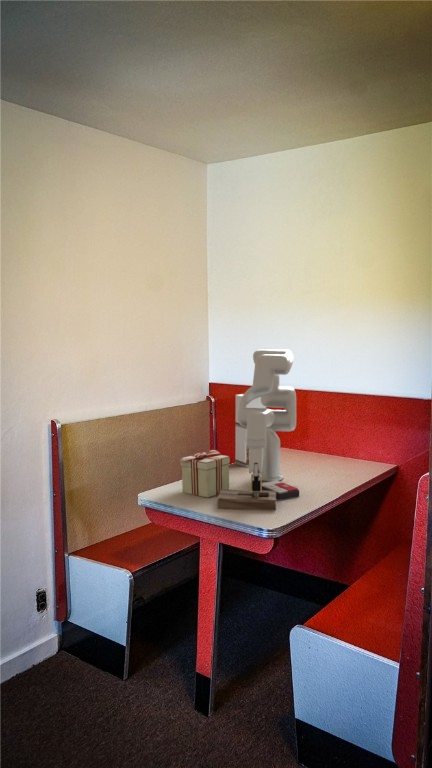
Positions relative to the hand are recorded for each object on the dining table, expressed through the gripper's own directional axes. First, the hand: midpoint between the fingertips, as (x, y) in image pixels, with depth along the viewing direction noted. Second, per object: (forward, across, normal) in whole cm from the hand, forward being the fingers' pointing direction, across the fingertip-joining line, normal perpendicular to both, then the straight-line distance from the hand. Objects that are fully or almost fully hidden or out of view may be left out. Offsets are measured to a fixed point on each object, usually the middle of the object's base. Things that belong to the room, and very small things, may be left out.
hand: (256, 488), depth 241 cm
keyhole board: (+6, 0, -3) cm, 7 cm away
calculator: (+7, -16, +8) cm, 20 cm away
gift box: (+7, -17, -23) cm, 30 cm away
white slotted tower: (+7, -70, -5) cm, 70 cm away
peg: (+6, 0, 0) cm, 6 cm away
